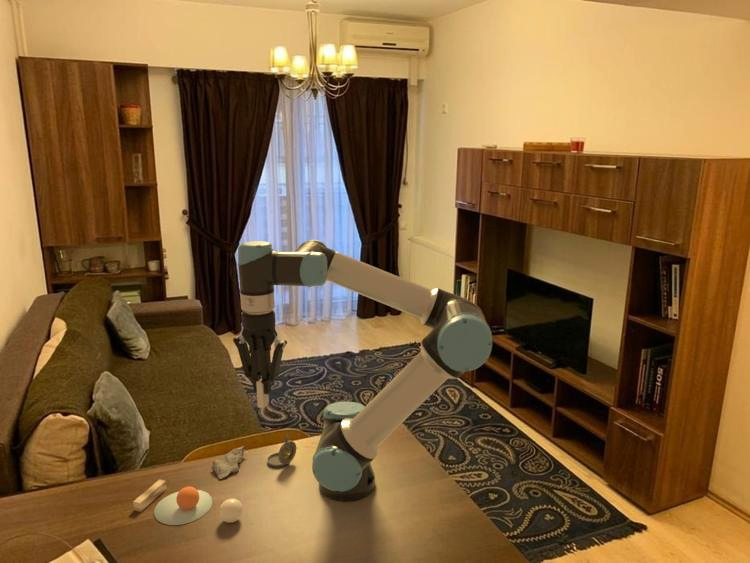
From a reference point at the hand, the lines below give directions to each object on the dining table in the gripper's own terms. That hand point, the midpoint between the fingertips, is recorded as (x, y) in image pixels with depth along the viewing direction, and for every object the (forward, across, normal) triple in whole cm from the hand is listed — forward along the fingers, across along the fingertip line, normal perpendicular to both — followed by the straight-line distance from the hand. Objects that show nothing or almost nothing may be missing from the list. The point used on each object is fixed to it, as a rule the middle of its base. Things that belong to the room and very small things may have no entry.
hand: (263, 405), depth 132 cm
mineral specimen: (+30, -20, +15) cm, 39 cm away
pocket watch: (+30, -7, +21) cm, 37 cm away
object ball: (+27, -20, -4) cm, 34 cm away
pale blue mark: (+29, -22, -4) cm, 37 cm away
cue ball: (+27, -7, -5) cm, 28 cm away
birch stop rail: (+29, -32, -4) cm, 44 cm away
